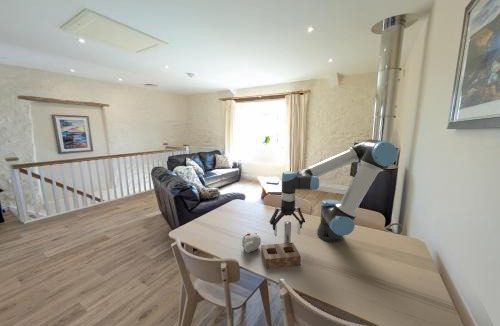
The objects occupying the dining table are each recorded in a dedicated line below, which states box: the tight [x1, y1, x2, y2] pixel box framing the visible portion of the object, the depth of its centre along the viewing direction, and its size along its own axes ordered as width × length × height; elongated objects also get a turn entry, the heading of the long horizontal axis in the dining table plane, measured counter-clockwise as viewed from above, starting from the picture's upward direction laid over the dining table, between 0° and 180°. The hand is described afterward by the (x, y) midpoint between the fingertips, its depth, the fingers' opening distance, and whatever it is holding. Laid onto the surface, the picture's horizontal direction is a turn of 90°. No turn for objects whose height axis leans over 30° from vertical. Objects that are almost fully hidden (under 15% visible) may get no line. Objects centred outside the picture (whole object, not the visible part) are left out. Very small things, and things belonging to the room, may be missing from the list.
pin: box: [283, 220, 292, 243], centre depth 116 cm, size 4×4×15 cm
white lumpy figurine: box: [241, 232, 262, 254], centre depth 117 cm, size 9×11×15 cm
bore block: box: [260, 242, 302, 269], centre depth 107 cm, size 18×12×5 cm, turn 97°
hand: (286, 234), depth 116 cm, fingers open, 13 cm apart
